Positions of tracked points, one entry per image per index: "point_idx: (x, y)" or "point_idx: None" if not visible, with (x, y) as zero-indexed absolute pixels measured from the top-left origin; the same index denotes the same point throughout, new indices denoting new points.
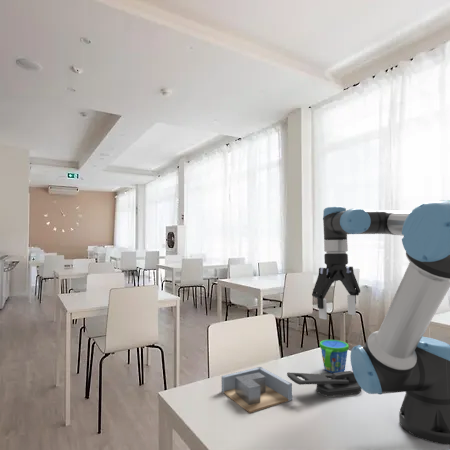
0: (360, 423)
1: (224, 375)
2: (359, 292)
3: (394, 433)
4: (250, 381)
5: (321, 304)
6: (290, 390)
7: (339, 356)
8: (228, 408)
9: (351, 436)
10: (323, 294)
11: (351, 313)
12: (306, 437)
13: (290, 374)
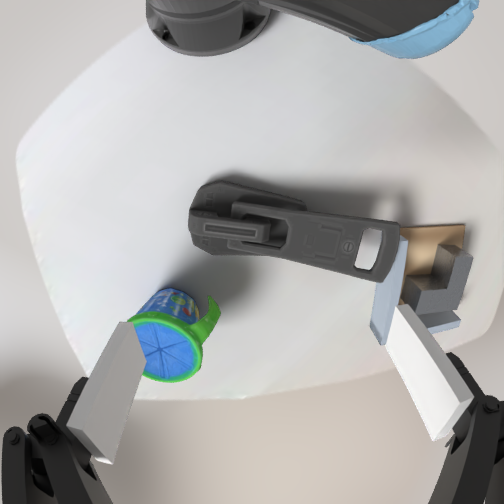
0: (331, 78)
1: (454, 327)
2: (16, 429)
3: (297, 25)
4: (454, 281)
5: (462, 373)
6: None
7: (170, 309)
8: (472, 254)
9: (380, 63)
10: (494, 424)
11: (136, 345)
12: (442, 111)
13: (386, 269)
